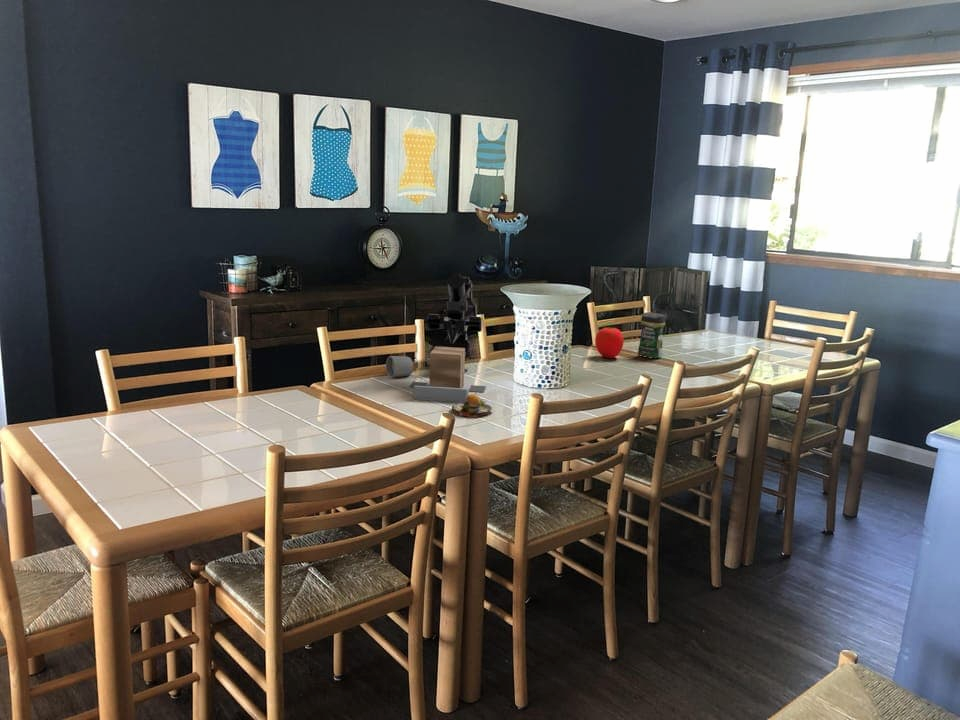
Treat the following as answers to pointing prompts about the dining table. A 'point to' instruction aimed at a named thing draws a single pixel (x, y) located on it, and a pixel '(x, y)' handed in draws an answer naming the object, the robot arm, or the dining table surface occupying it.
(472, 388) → the mats
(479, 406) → the burger
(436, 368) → the walnut block
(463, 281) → the robot arm
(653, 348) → the coffee jar
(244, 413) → the dining table surface
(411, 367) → the ceramic mug
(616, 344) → the red apple
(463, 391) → the grey t-shaped block
